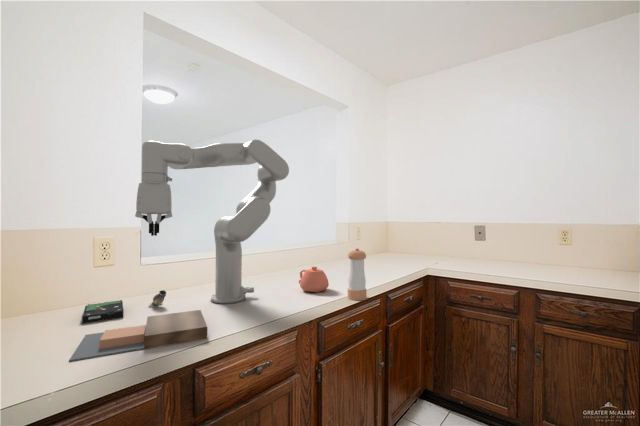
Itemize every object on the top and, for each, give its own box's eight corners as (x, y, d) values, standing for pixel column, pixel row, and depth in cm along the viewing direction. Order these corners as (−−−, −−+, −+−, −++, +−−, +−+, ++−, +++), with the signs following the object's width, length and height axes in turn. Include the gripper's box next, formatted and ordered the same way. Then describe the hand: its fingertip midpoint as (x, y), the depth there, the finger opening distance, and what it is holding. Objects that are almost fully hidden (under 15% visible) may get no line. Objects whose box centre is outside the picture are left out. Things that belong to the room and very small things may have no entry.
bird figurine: (171, 306, 106) (170, 289, 106) (156, 311, 102) (155, 293, 102) (163, 303, 109) (162, 287, 109) (147, 308, 105) (146, 291, 105)
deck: (200, 319, 92) (200, 309, 92) (207, 338, 78) (207, 326, 78) (147, 327, 86) (147, 316, 86) (144, 349, 72) (144, 336, 72)
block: (146, 332, 81) (146, 325, 81) (143, 342, 75) (144, 334, 75) (105, 338, 77) (105, 330, 77) (99, 348, 71) (99, 340, 71)
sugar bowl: (318, 295, 122) (318, 270, 122) (290, 291, 129) (291, 267, 129) (333, 289, 132) (333, 266, 132) (307, 285, 140) (307, 263, 140)
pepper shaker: (370, 297, 118) (370, 248, 119) (358, 301, 113) (358, 249, 114) (355, 294, 123) (355, 247, 124) (343, 297, 118) (343, 248, 119)
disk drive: (124, 319, 94) (122, 307, 106) (124, 310, 94) (122, 299, 107) (81, 326, 88) (84, 312, 101) (82, 316, 88) (84, 303, 101)
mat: (147, 327, 86) (147, 326, 86) (144, 349, 72) (144, 347, 72) (85, 335, 79) (85, 334, 79) (68, 361, 65) (68, 360, 65)
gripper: (179, 182, 107) (178, 234, 107) (129, 179, 100) (128, 235, 100) (180, 180, 100) (179, 235, 100) (126, 177, 94) (125, 236, 93)
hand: (154, 235), depth 100 cm, fingers closed
